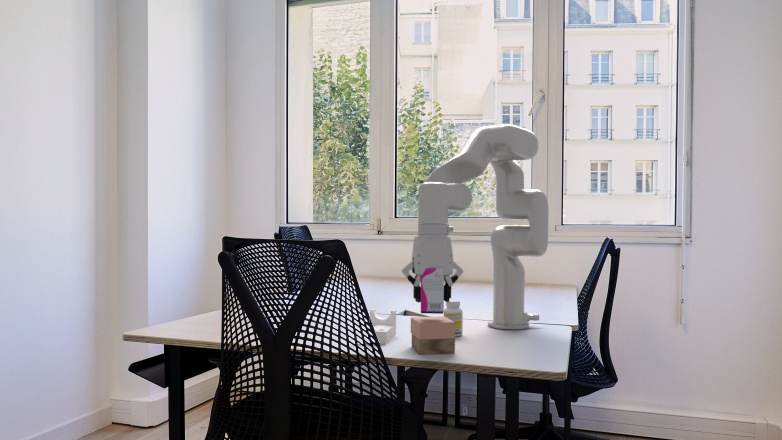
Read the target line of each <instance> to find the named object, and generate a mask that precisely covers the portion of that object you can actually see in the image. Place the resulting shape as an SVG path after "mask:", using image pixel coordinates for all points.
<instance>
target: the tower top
mask: <svg viewBox="0 0 782 440" xmlns="http://www.w3.org/2000/svg"><path fill="white" fill-rule="evenodd" d="M410 334H411V335H412V334H413V335H414V336H416V337H417V338H418V339H420V340H422V339H451V338H455V339H456V336H455V322H454V321H452V320H450V319H448V318H446V317H444V315H443V316H416V317H415V316H412V317H411V316H410Z"/></svg>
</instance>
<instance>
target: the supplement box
mask: <svg viewBox="0 0 782 440" xmlns="http://www.w3.org/2000/svg"><path fill="white" fill-rule="evenodd" d="M444 285H445V281H444V268H426V269H425V271H424V273H423V274H422V275H421V281H420V287H421V302H420V314H432V315H433V314H435V315H436V314H437V315H438V314H440V315H442V314H443V315H444V309H445V308H444V307H445V301H444Z"/></svg>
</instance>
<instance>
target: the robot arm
mask: <svg viewBox="0 0 782 440" xmlns="http://www.w3.org/2000/svg"><path fill="white" fill-rule="evenodd" d="M538 150H539V140H538V137H537V136H536V134H535V133H534V132H533V131H532V130H529V129H527V128H523V127H520V126H517V125H514V124H498V125H487V126H481V127H479V128H477V129H476V130H474V131H473V133H472V134H471V136H470V137H469V139H467V142H465V144H464V146H463V148H461V150H460V152H459V153H458V155H457V156H455V157H453V158H451V159H450V160H449V159H448V161H446V162H444V163H443V164H442V165H440V166H438V167H436V168H435V169H434V170H433V171H432V172H431V173H430V174H429V175H428V176H427V178H425V181H424V182H422V183H421V184H419V185H418V201H417V202H418V205H417V207H418V210H417V211H418V213H417V219H418V220H417V223H418V224H417V226H418V228H417V235H418V236H416V235H415V236H414V239H413V244H412V252H411V253H412V254H411V261H410V262H409V263H407V264H406V265H405V266H404V267H403V268H402V269H401V274H402V275H403V276H404V277H405V278H406V279H407V280H408V282H410V283H411V285H413V289H412V290H413V293H412V295H413V296H412V297H413V299H414V300H415V302H416V303H421V275H422V274H423V273H424V271H425V269H426V268H444V302H445V303H446V302H449V300H450V299H452V286H454V284H455V283H456V281H457V280H458V279H459V278H460V277H461V276H462V274H463V273H464V270H463V268H462V267H461V266H460V265H459V264H457V263H456V262H455V261H454V254H453V246H452V239H451V236H449V234H450V233H453V232H454V226H450V225H449V213H455V212H456V213H459V212H464V211H466V210H468V208H470V205H471V204H472V202H473V201H472V200H473V195H472V191H471V189H470V188H469V187H468V185H465V184H464V183H467V182H469V181H472V180H474V179H477V178H479V177H481V176H482V175H483V174H484V173H485V171H486V169H487V167H488V165H489V163H490V165H491V167H492V168H493V170H494V174H495V181H496V182H495V183H496V185H495V186H496V189H495V191H496V192H495V193H496V195H495V196H496V197H495V209H496V214H497V217H498V218H499V219H501V220H504V221H518V222H519V221H521V222H524V221H526V222H528V225H527V224H522V225H521V224H502V225H498V226H497V227H495V228H493V230H492V232H491V234H490V246H491V251H492V257H493V258H492V261H493V298H492V299H493V302H492V303H493V308H492V309H493V310H492V311H493V312H492V313H493V314H492V315H493V316H492V320H489V321H488V322H487V326H488V327H490V328H494V329H500V330H517V331H518V330H525V329H529V327H530V323H529V322H530V321H533V322H534V321H535V322H536V321H540V315H539V313H536V314H531V313H528V312H526V311H525V281H526V280H525V279H526V278H525V277H526V275H525V274H526V272H525V267H524V265H523V263H522V261H521V260H520V258H519V257H530V258H531V257H534V258H535V257H537V258H538V257H542V256H543V255H545V253H546V252H547V249H548V245H549V202H548V198H547V196H546V195H547V194H545V193H544V191H541V190H539V189H526V188H525V174H524V171H523V169H522V167H521V166H520V164H519V163H518V162H517V161H526V160H530V159H534V157H535V156H536V155H537V153H538ZM448 212H449V213H448ZM410 271H411V273H412V274H414V277H413V276H412V275H411V274H410ZM454 271H455V272H454ZM453 272H454V273H453Z"/></svg>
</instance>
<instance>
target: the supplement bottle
mask: <svg viewBox="0 0 782 440" xmlns="http://www.w3.org/2000/svg"><path fill="white" fill-rule="evenodd" d="M445 306H446V307H445V308H444V312H443V316H444V317H446V318H448V319H450V320H452V321H454V322H455V337H460V336H463V328H464V326H463V322H464V321H463V315H464V314H463V308H461V300H458V299H449V302H446V301H445Z"/></svg>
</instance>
